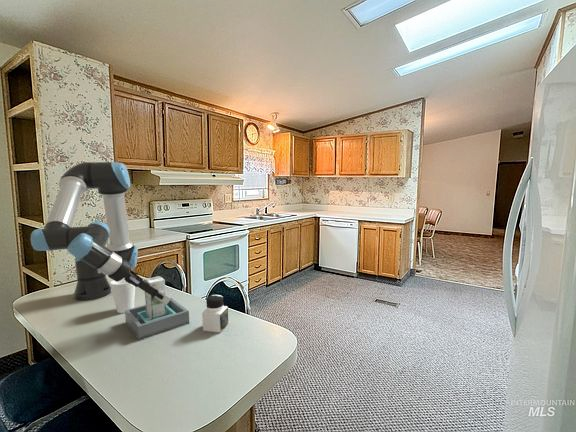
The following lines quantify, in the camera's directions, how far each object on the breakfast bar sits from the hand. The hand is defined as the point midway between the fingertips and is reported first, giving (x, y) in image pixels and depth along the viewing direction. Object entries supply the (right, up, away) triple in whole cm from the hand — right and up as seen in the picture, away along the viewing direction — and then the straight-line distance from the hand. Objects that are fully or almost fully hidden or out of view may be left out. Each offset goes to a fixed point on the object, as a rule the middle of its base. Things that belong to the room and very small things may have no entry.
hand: (165, 299), depth 117 cm
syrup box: (-3, -6, -2) cm, 7 cm away
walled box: (-3, -9, -1) cm, 9 cm away
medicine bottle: (+21, -9, -5) cm, 24 cm away
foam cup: (-22, -8, +11) cm, 26 cm away
